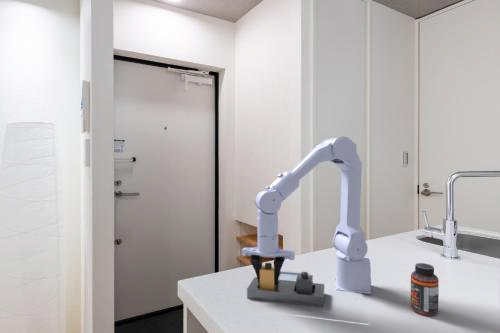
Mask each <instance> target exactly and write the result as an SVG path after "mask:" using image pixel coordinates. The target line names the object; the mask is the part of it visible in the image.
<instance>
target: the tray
mask: <svg viewBox="0 0 500 333" xmlns="http://www.w3.org/2000/svg"><path fill="white" fill-rule="evenodd" d="M301 272H302V271H291V270H289V271H288V270H280V274H279V279H278V280H288V281H296V279H297V276H298V274H301ZM307 273H308V275H311V272H307Z"/></svg>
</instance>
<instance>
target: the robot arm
mask: <svg viewBox="0 0 500 333" xmlns="http://www.w3.org/2000/svg"><path fill="white" fill-rule="evenodd" d="M328 161H329V162H331V163H334V164H335V165H336V166H337V167H338V169H340V170H341V186H340V188H341V189H340V190H341V191H340V212H339V213H340V216H339V217H340V218H339V223H338V224H337V226H336V227H335V233H334V235H333V238H332V246H333V248H334V249H335V250H336V278H335V280H334V281H335V282H334V283H335V285H334V286H335V287H334V288H335V290H336V291H341V292H351V293H361V294H365V295H371V294H372V291H371V290H372V286H371V285H372V278H371V277H372V276H371V274H372V272H371V271H372V269H371V260H370V258H369V257H366V255H367V253H368V244H367V241H366V234H365V232H364V230H363V229H362V227H361V225H360V221H361V218H360V217H361V199H362V197H361V194H362V169H363V168H362V167H363V165H362V161H361V158H360V156H359V154H358V152H357V143H355V142H354V141H353V139H351V138H350V137H348V136H339V137H332V138H326V139H324V140H322V141H321V143H319V144H317V145H316V146H315V147H314V148H313V149H312V150H311V151H310V152H309V153H308V154H307V155H306V156H305V157H304V158H303V159H302V160H301V161H300V162H299V163H298V164H297V165H296V166H295V168H293V169H292V170H291V171H284V172H280V173H278V174H277V178H276V179H275V180H274V181H273V182H272V183H271V184H270V185H266V186H265V190H261V191H260V192H258V193H257V195H256V198H255V200H254V204H255V206H256V208H257V220H256V221H257V222H256V223H257V227H256V228H257V232H256V233H257V246H256V247H243V248H242V249H241V256H242V257H251V258H250V264H251V266H252V267H253V270H254V271H255V274H256V275H255V276H256V277H257V279H258V283H259V284H260V269H261V267H262V266H263V260H264V259H263V258H274V260H273V266H274V273H275V275H274V283H275V285H277V284H278V279H279V274H280V271H282V266H283V265H284V262H285V260H287V259H288V260H290V261H294V260H295V258H296V256H295V253H296V252H295V250H288V249H283V248H279V218H278V214H279V211H280V209H281V207H282V203H283V202H285V200H286V199H288V197H290V195H291V194H293V192H295V191H296V190H297V189H298V188H299V187H300V181H301V179H302V178H304V177H306V176H307V174H308V173H310V172H311V171H312V170H314V168H316V167H317V166H318V165H319V164H320V163H323V162H328Z"/></svg>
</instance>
